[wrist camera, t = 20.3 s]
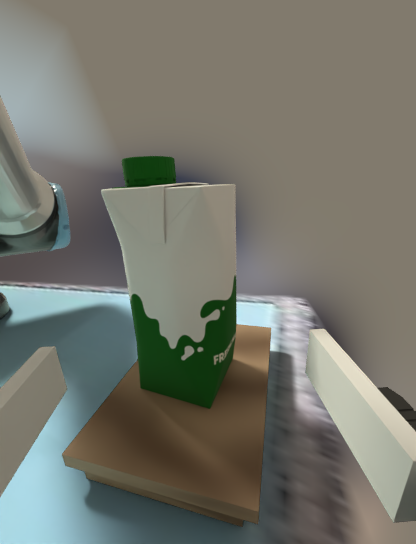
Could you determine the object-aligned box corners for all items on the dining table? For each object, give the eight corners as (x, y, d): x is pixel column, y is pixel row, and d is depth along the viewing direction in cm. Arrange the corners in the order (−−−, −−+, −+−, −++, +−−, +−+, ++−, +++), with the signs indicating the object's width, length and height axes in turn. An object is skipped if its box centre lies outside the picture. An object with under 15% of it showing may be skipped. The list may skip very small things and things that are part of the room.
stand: (173, 335, 37) (171, 317, 36) (270, 347, 34) (271, 327, 33) (71, 481, 19) (61, 454, 18) (257, 542, 16) (258, 511, 15)
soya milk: (172, 340, 31) (153, 164, 24) (244, 355, 28) (245, 156, 21) (125, 393, 23) (80, 157, 17) (218, 423, 20) (207, 143, 13)
